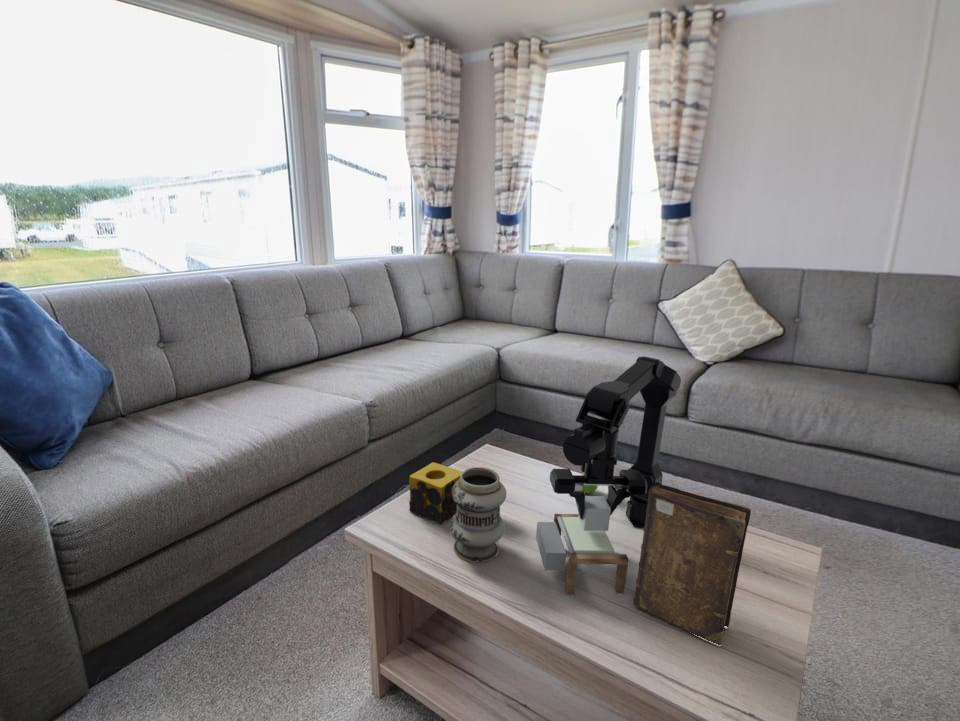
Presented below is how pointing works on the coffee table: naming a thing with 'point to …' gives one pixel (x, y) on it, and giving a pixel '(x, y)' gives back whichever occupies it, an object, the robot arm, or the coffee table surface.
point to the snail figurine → (589, 488)
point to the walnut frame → (594, 559)
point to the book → (690, 560)
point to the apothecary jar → (477, 514)
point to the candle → (433, 492)
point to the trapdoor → (568, 541)
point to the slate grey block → (595, 514)
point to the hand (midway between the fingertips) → (593, 518)
